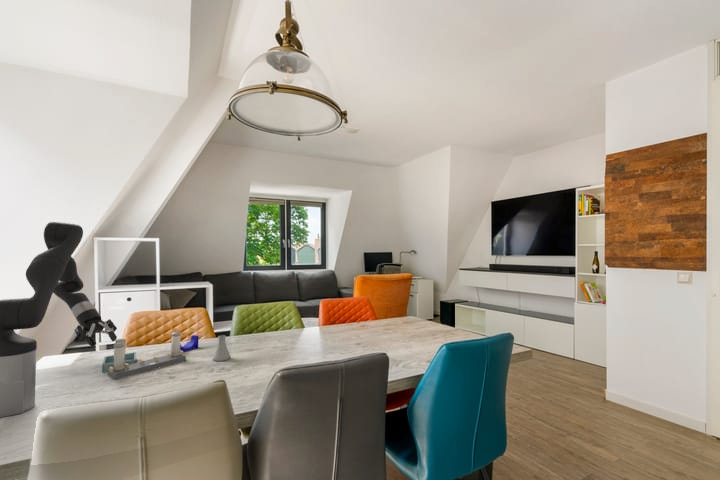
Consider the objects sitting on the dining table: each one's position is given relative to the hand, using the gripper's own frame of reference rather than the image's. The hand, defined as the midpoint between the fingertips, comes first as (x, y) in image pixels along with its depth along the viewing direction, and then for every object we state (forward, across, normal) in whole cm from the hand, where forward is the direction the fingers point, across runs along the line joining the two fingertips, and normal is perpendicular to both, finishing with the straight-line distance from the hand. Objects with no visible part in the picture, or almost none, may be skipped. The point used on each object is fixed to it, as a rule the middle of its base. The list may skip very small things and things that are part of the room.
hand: (104, 342), depth 142 cm
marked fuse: (+12, 0, -1) cm, 12 cm away
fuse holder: (+22, +1, -10) cm, 24 cm away
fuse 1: (+18, -9, -9) cm, 22 cm away
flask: (+37, +19, -25) cm, 49 cm away
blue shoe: (+20, +24, -7) cm, 32 cm away
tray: (+12, 0, 0) cm, 13 cm away
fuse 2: (+23, +11, -14) cm, 29 cm away
